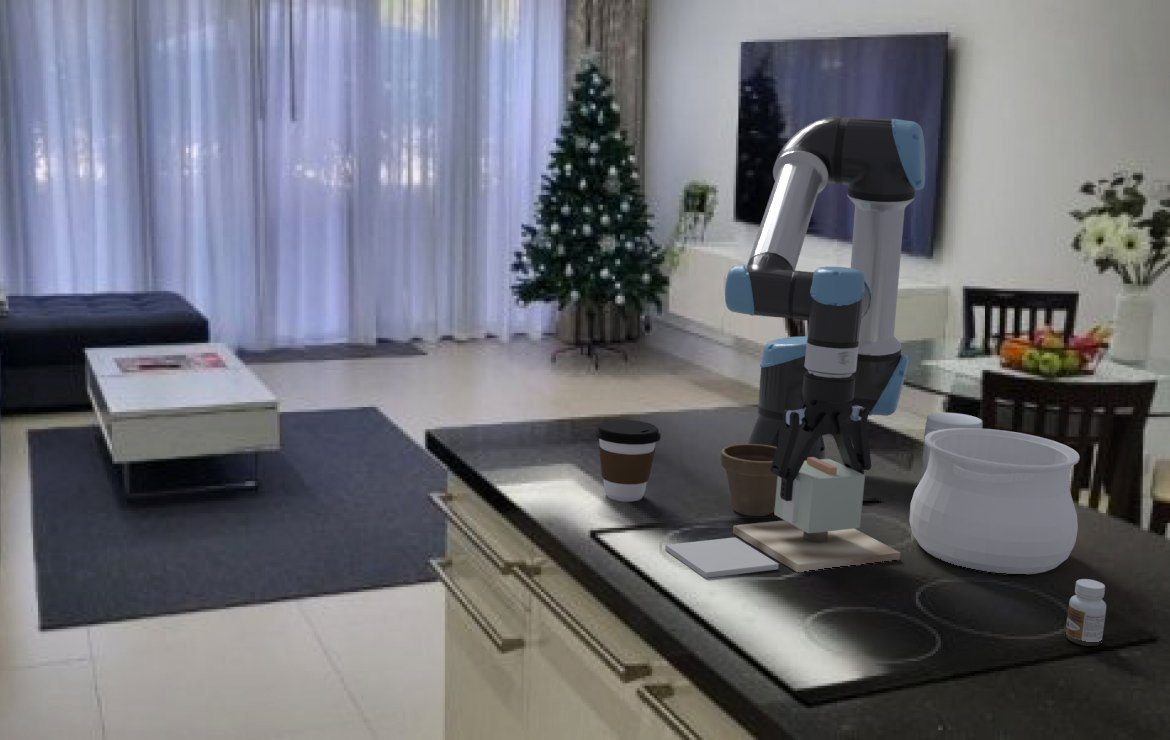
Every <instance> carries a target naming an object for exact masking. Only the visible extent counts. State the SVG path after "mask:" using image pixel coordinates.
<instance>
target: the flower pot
mask: <svg viewBox="0 0 1170 740" xmlns="http://www.w3.org/2000/svg"><path fill="white" fill-rule="evenodd" d="M776 448H777V447H773V446H768V445H760V444H746V443H742V444H741V443H739V444H733V445H728V446H725V447H723V448H722V449H721V450H720V464H721V466H722V468H723V469H724V470H725V472H726V477H727V482H728V488H729V494H730V499H731V503H732V508H733V510H734V512H736V513H738V514H740V515H744V516H748V517H749V516H751V517H765V516H769V515H771V514H772V513H774V511H775V500H776V488H777V475H775V474H773V473H771V471H770V468H771V465H772V462H773V458H774V455H775V451H776Z"/></svg>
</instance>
